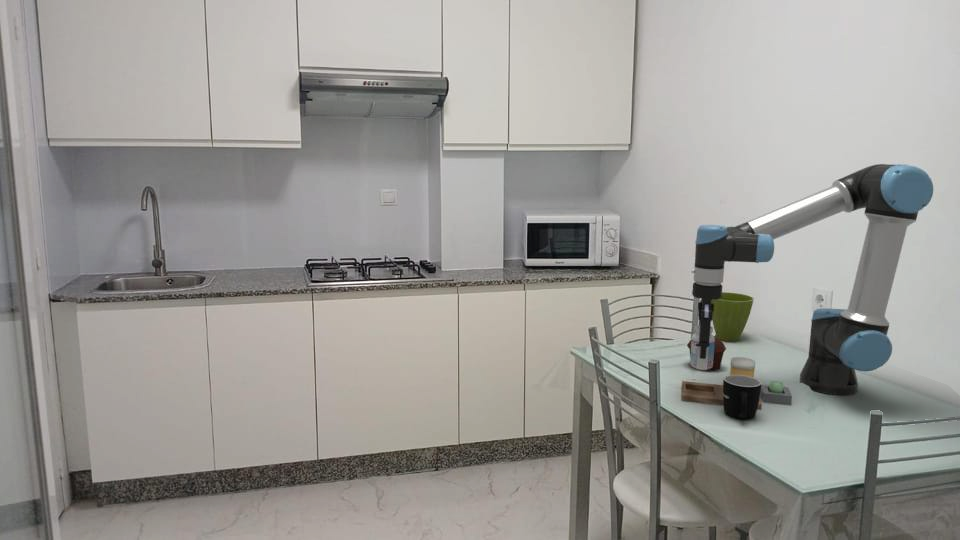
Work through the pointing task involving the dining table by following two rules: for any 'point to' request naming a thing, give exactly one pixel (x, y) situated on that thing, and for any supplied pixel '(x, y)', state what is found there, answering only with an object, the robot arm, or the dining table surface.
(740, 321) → the flower pot
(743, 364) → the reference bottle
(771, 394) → the button housing
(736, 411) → the mug
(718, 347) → the muffin
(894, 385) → the dining table surface
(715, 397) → the pallet board
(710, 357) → the pill bottle
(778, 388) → the button plunger
